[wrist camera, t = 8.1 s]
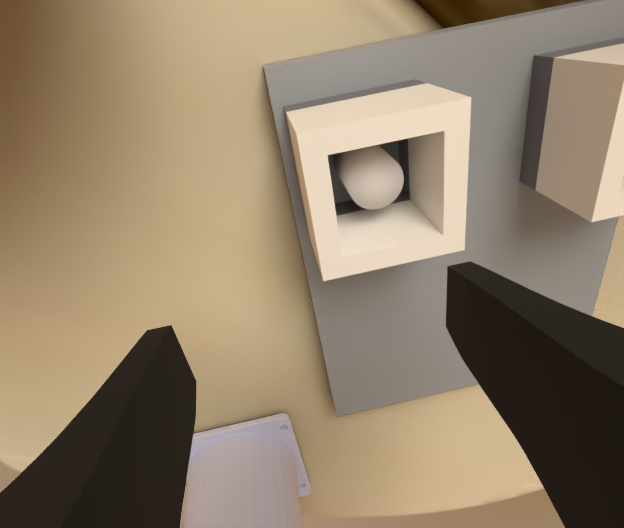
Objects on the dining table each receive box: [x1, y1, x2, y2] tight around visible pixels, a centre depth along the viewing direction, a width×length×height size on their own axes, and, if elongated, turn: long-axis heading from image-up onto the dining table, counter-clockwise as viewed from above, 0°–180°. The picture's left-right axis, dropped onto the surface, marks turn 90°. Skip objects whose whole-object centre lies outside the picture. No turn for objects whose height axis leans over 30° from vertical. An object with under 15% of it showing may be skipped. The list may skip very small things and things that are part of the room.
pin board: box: [263, 0, 624, 417], centre depth 19 cm, size 20×16×4 cm
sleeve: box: [283, 79, 471, 281], centre depth 15 cm, size 5×5×4 cm
